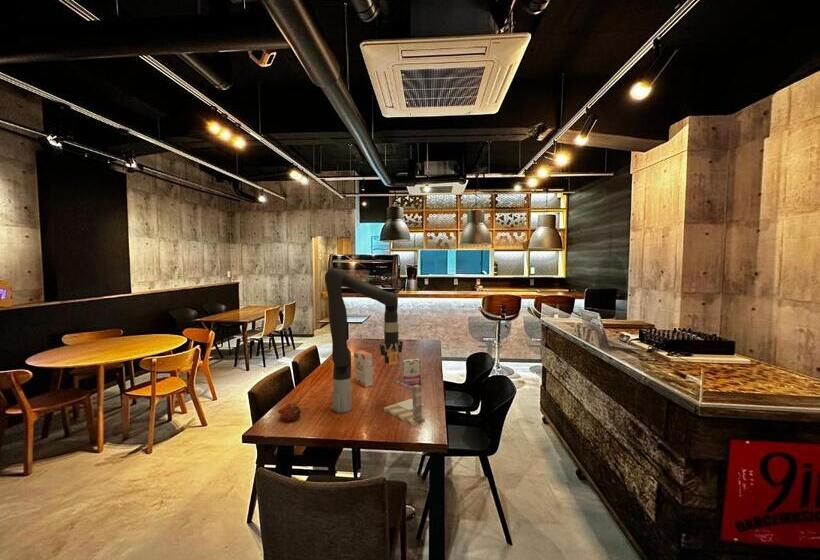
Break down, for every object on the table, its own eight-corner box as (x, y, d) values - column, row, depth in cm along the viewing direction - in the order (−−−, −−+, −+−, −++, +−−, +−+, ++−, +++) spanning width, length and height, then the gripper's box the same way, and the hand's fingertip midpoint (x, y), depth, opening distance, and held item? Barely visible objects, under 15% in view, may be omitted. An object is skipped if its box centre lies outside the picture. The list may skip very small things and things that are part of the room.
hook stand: (424, 421, 168) (424, 385, 167) (413, 426, 163) (413, 388, 162) (394, 406, 186) (393, 373, 185) (384, 410, 181) (383, 376, 181)
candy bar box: (419, 382, 224) (418, 357, 223) (420, 385, 219) (420, 360, 218) (402, 384, 222) (401, 359, 221) (403, 386, 217) (403, 361, 216)
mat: (408, 411, 180) (408, 410, 180) (395, 404, 188) (395, 403, 188) (423, 405, 187) (423, 404, 187) (410, 399, 195) (410, 398, 195)
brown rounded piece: (301, 424, 170) (280, 425, 172) (307, 408, 176) (286, 410, 179) (293, 415, 165) (271, 416, 167) (299, 399, 171) (278, 401, 174)
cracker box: (354, 382, 226) (353, 350, 226) (362, 380, 230) (361, 349, 229) (364, 388, 215) (364, 355, 214) (373, 386, 219) (372, 353, 218)
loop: (389, 365, 178) (389, 352, 178) (386, 364, 180) (386, 352, 180) (397, 363, 182) (397, 351, 182) (394, 362, 184) (394, 350, 184)
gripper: (397, 327, 188) (397, 358, 189) (375, 331, 179) (376, 363, 179) (406, 329, 182) (406, 361, 183) (384, 333, 173) (385, 366, 174)
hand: (391, 361), depth 181 cm, fingers closed on loop, 5 cm apart
